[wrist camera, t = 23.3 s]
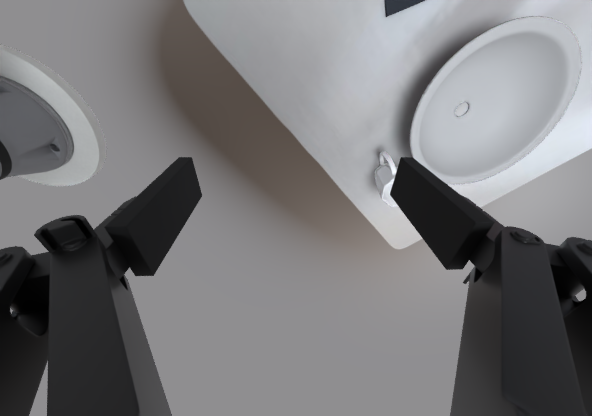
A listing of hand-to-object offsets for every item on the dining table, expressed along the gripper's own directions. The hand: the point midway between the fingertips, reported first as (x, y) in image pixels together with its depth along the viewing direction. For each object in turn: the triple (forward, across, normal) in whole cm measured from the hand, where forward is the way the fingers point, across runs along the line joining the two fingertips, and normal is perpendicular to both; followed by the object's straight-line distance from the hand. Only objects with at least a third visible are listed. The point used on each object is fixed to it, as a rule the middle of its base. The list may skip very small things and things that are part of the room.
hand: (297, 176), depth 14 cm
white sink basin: (+29, +31, -1) cm, 42 cm away
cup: (+29, +19, -12) cm, 37 cm away
